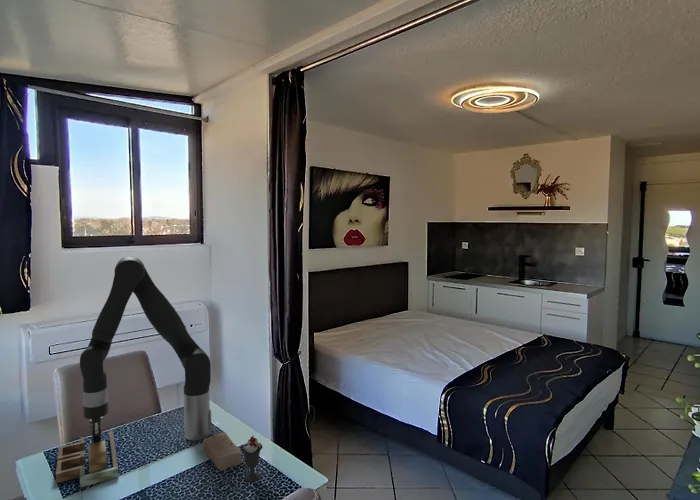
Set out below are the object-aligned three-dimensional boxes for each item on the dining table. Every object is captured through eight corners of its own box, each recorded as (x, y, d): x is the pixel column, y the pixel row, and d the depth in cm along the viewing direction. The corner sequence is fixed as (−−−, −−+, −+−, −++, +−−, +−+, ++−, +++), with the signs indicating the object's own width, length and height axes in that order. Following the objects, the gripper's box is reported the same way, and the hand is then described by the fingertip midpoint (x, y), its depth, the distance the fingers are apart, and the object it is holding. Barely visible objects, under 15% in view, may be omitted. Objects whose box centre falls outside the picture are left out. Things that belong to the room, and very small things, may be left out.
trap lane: (113, 437, 162) (112, 430, 162) (118, 477, 138) (118, 468, 137) (59, 450, 153) (59, 442, 153) (55, 494, 129) (54, 485, 129)
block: (105, 456, 149) (104, 440, 149) (106, 468, 142) (106, 451, 142) (88, 461, 146) (87, 444, 146) (89, 473, 140) (88, 455, 139)
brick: (243, 463, 146) (242, 450, 146) (219, 472, 141) (218, 458, 141) (224, 443, 160) (224, 431, 159) (202, 450, 154) (202, 437, 154)
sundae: (252, 486, 134) (251, 440, 132) (237, 479, 137) (236, 434, 136) (267, 475, 139) (266, 431, 138) (252, 469, 143) (251, 425, 142)
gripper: (108, 406, 145) (110, 455, 146) (107, 392, 156) (108, 438, 158) (82, 411, 141) (84, 461, 142) (83, 396, 152) (84, 443, 154)
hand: (97, 449), depth 150 cm, fingers closed
